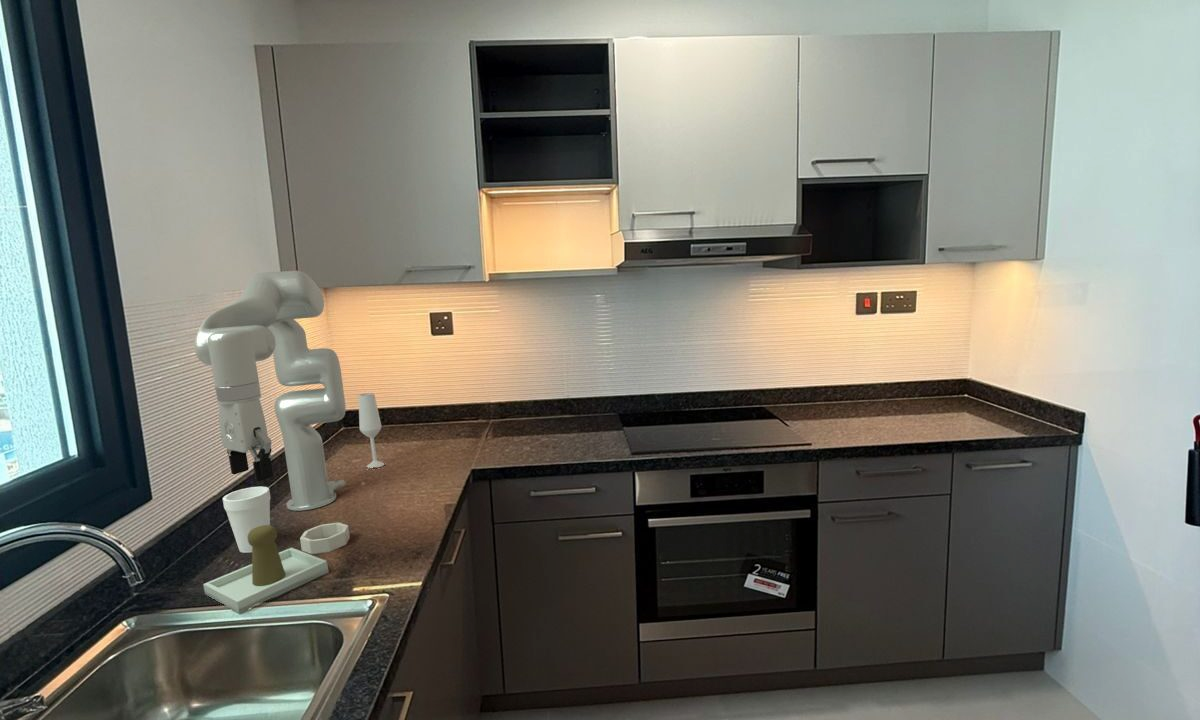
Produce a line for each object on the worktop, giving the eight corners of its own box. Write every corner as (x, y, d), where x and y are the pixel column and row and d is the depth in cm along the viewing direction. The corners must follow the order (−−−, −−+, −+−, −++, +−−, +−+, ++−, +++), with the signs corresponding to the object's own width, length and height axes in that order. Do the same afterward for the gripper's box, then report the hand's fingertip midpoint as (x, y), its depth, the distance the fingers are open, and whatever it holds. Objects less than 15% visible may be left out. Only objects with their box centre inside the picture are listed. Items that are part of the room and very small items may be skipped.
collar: (333, 532, 151) (331, 520, 151) (356, 539, 146) (355, 527, 145) (295, 548, 144) (293, 535, 143) (318, 556, 138) (316, 544, 138)
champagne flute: (383, 468, 200) (373, 395, 197) (361, 470, 200) (352, 397, 197) (388, 462, 207) (380, 391, 204) (368, 463, 207) (359, 393, 203)
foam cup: (284, 536, 151) (276, 485, 149) (265, 553, 142) (256, 499, 140) (244, 539, 151) (236, 488, 149) (223, 557, 142) (213, 502, 140)
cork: (253, 576, 129) (245, 525, 127) (286, 568, 131) (278, 519, 129) (250, 589, 123) (242, 536, 122) (284, 581, 126) (276, 529, 124)
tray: (292, 558, 138) (291, 547, 138) (328, 572, 130) (327, 561, 130) (205, 595, 124) (203, 584, 124) (239, 614, 116) (237, 601, 115)
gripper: (198, 393, 125) (212, 475, 128) (240, 400, 115) (254, 488, 118) (237, 386, 131) (249, 464, 134) (280, 391, 121) (293, 475, 124)
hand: (252, 475), depth 126 cm, fingers open, 9 cm apart
